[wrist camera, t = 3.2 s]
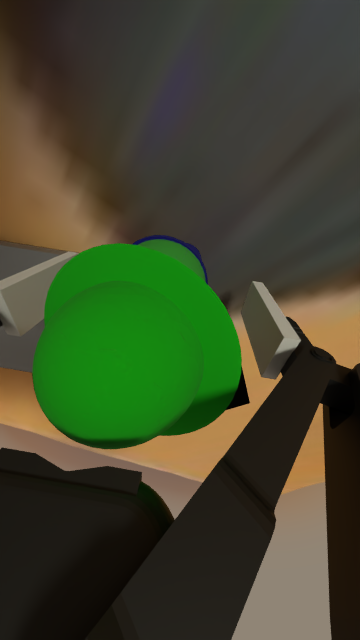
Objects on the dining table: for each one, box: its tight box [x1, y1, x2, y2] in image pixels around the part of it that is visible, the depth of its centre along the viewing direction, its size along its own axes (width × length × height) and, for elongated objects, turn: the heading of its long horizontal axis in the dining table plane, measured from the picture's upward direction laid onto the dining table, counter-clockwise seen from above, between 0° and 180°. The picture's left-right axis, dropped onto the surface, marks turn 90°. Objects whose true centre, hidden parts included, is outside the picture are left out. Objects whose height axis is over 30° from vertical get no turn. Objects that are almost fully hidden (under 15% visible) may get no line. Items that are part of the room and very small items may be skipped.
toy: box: [32, 235, 250, 449], centre depth 11 cm, size 9×9×15 cm
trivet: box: [0, 240, 68, 372], centre depth 22 cm, size 18×18×1 cm
